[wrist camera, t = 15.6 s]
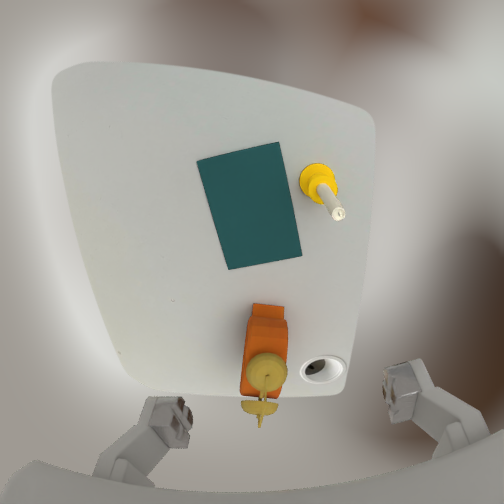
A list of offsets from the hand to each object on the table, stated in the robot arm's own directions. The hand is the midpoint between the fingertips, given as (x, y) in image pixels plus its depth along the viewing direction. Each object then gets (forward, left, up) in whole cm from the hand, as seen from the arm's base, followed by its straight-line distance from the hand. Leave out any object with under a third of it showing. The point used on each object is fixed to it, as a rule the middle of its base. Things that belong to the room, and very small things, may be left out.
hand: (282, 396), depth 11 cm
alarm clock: (+26, -7, -37) cm, 46 cm away
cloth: (+4, -4, -37) cm, 38 cm away
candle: (+2, +6, -37) cm, 38 cm away
